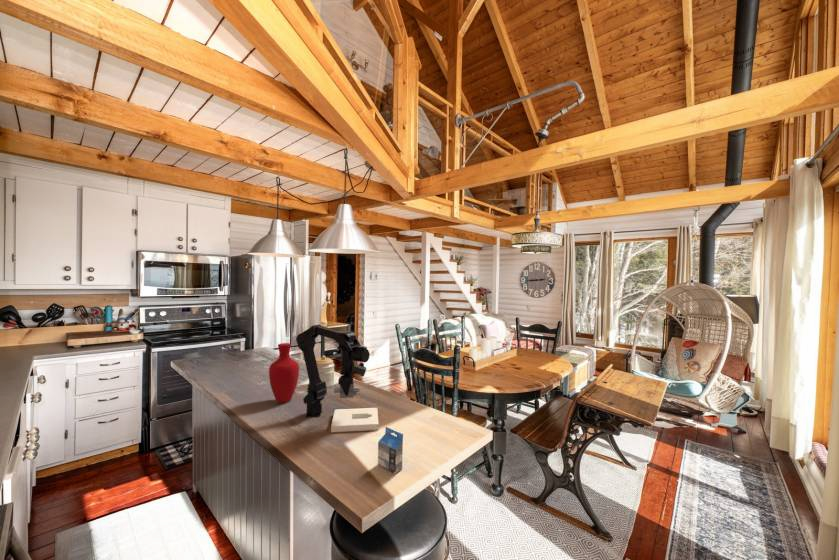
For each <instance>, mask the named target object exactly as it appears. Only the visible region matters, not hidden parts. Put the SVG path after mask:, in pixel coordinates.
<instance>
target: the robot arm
mask: <svg viewBox="0 0 839 560" xmlns="http://www.w3.org/2000/svg"><path fill="white" fill-rule="evenodd" d="M319 336H320V337H324V338H328V339H331V340H334V341H335V343H337V344H339V345H338V346H337V347H336V350H340V362H339V363H340V364H339V365H340V372H339V373H340V376H339V377H338V381H337V382H338V383H337V384H338V385H339V386H340V385H341V387H342V389H343V391H344V393H345V396H348V393H349V388H350V385H351V384H353V381H354V378H355V374H356V375H359V376H361V377H365V375H366V371H367V367H366V366H365V363H367V362H368V361H369V359H370V356H371V354H370V351H369V350H368V348H367V347H368V346H367V345H364V346H362V345H361V343H360V341H359V339H358V338H357V335H356V333H355V332H354V331H353V330H338V329H335V328H330V327H327V326H323V325H321V324H313V325H311V326H310V327H309V328H307V329H305V330H304V331H302V332H301V333H298V334H297V336H296V338H295V339H296V344H297V347H298V348H299V350H300V352H301V351H302V354H303V358H304V364H305V368H306V369H305V370H306V372H307V373H306V374H307V377H308V386H307V389H306V390H307V394H306V395H305V396H304V397H303V398H302V400H303V403H304V404H306V415H305V417H306V418H311V417H312V418H313V417H321V414H322V413H323V403H322V401H323V400H324V399H325V396H326V395H327V390H328V387H326V382H325V381H324V382H322V380H321V379H320V377H319V372H318V368H317V363H316V360H317V359H316V354H315V350H314V349H315V346H316V339H317V338H318V337H319ZM355 362H359V364H357V363H356V364H355ZM354 382H355V381H354Z"/></svg>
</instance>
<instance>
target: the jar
mask: <svg viewBox="0 0 839 560" xmlns="http://www.w3.org/2000/svg"><path fill="white" fill-rule="evenodd" d="M316 363H317V368H318V372H319V377H320V379H321V380H322V382H324V381H325V382H326V387H327V388H329V387H332V386H333V385H334V384H335V363H334V360H333V359H332V358H330V357H326V355H322V356H321V357H319V358H317V359H316Z"/></svg>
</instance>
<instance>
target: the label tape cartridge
mask: <svg viewBox="0 0 839 560" xmlns="http://www.w3.org/2000/svg"><path fill="white" fill-rule="evenodd" d="M403 444H404V434H403V433H401V432H399V431H397V430H395V429H392V428H390V427H387V426H385V432H384V434H383V436H382V437H381V438H380V439H379V440H378V442H377V445H378V446H377V465H379V466H380V467H382V468H383V469H386V470H388V471H389V472H391V473H393V474H395V475H396V474H398V473H399V472H401V471H402V470H403V454H404V453H403V452H404V450H403V448H404V447H403V446H404V445H403Z"/></svg>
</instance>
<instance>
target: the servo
mask: <svg viewBox="0 0 839 560" xmlns="http://www.w3.org/2000/svg"><path fill="white" fill-rule="evenodd" d="M360 389H361V388H360V387H359V386H355V381H353V384H351V385H350V388H349V393H348V396H345V393H344V391H343V389H342V387H341V385H339V388H334V391H333V393H334V394H339V399H351V398H354V396H357V394H358V393H360Z"/></svg>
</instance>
